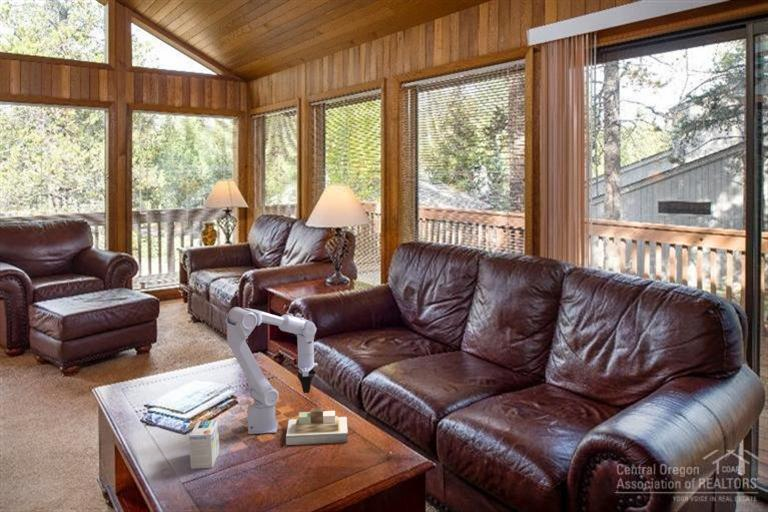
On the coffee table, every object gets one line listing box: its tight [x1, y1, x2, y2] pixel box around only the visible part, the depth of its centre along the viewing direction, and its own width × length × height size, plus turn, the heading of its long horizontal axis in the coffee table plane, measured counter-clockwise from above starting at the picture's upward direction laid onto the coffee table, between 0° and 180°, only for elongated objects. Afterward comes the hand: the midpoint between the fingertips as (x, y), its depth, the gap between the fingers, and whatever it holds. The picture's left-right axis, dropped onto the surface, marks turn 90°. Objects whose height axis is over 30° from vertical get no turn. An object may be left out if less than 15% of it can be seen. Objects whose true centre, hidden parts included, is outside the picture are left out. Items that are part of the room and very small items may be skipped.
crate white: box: [323, 410, 336, 423], centre depth 194 cm, size 4×4×2 cm
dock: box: [285, 416, 349, 446], centre depth 194 cm, size 20×14×3 cm
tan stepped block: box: [296, 407, 339, 432], centre depth 194 cm, size 14×7×6 cm, turn 95°
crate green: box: [298, 411, 311, 424], centre depth 193 cm, size 4×4×2 cm
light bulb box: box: [188, 419, 220, 469], centre depth 177 cm, size 11×7×11 cm, turn 5°
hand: (306, 388), depth 209 cm, fingers open, 7 cm apart
